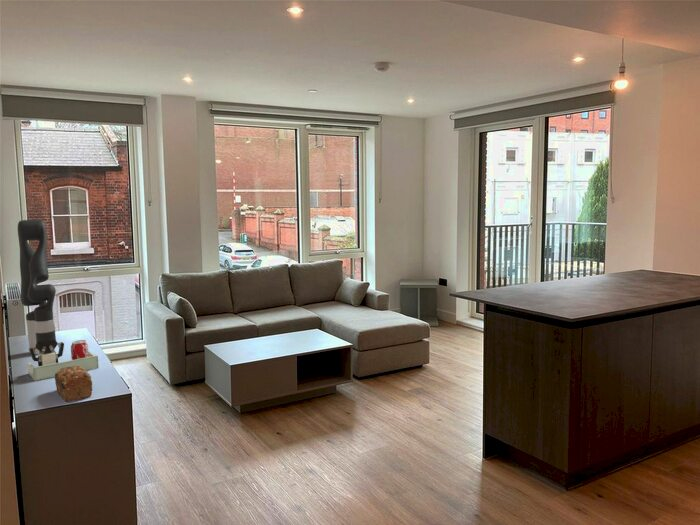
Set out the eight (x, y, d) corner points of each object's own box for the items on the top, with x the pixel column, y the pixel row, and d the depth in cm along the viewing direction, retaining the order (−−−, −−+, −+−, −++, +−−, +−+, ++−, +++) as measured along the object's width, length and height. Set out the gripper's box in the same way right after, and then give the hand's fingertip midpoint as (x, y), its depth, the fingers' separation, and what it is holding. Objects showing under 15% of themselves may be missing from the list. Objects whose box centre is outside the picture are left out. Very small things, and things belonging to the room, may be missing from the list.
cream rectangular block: (40, 369, 243) (39, 352, 242) (53, 367, 247) (52, 350, 246) (43, 373, 239) (42, 355, 238) (57, 370, 242) (55, 353, 241)
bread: (93, 397, 213) (91, 372, 212) (63, 403, 207) (60, 378, 206) (83, 384, 228) (81, 361, 227) (54, 390, 222) (52, 366, 221)
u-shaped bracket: (28, 373, 243) (27, 361, 243) (90, 361, 260) (89, 350, 259) (34, 380, 234) (33, 368, 233) (98, 367, 250) (97, 355, 249)
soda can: (82, 370, 247) (80, 344, 245) (68, 369, 248) (66, 343, 247) (93, 365, 254) (91, 339, 252) (79, 364, 255) (77, 339, 254)
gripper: (61, 325, 248) (64, 362, 250) (24, 331, 239) (28, 369, 241) (65, 328, 242) (68, 366, 244) (28, 334, 233) (31, 373, 235)
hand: (48, 367), depth 243 cm, fingers closed on cream rectangular block, 5 cm apart
